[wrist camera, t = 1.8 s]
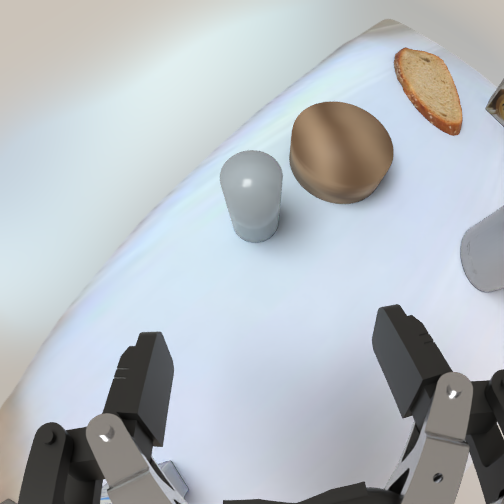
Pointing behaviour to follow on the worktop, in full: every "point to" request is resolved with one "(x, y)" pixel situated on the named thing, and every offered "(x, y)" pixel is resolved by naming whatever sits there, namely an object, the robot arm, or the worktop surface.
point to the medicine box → (170, 474)
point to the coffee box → (497, 104)
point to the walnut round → (339, 152)
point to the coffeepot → (8, 502)
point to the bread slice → (430, 88)
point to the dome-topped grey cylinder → (252, 194)
